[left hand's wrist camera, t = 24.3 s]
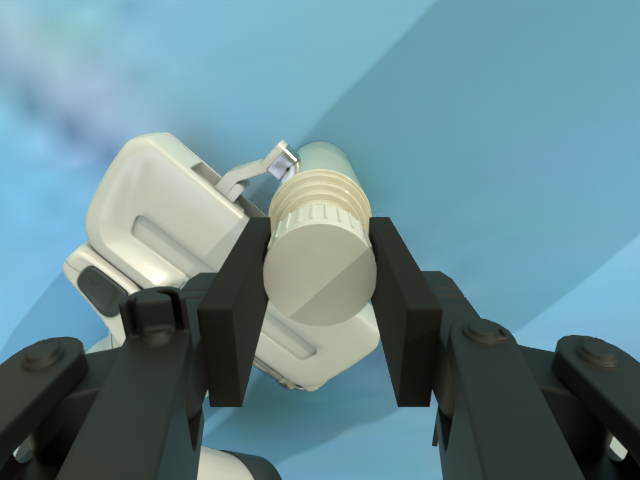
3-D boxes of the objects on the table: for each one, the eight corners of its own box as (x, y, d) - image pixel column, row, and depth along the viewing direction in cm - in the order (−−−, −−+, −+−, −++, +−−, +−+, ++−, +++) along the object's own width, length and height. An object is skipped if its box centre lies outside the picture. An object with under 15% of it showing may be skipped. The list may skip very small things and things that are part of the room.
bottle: (355, 199, 30) (397, 320, 13) (294, 208, 30) (264, 338, 14) (346, 136, 28) (385, 187, 12) (282, 147, 28) (231, 211, 12)
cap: (368, 295, 15) (376, 327, 13) (272, 296, 15) (264, 328, 13) (372, 201, 13) (382, 220, 11) (265, 203, 13) (256, 222, 11)
